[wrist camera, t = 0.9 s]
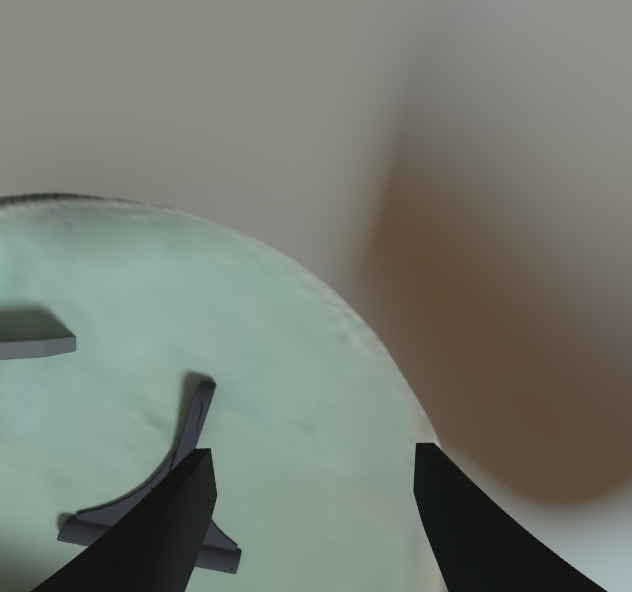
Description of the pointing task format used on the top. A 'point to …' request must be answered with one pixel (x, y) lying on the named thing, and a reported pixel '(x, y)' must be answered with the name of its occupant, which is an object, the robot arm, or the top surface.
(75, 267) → the top surface
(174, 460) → the bracket
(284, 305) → the top surface
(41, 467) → the top surface
